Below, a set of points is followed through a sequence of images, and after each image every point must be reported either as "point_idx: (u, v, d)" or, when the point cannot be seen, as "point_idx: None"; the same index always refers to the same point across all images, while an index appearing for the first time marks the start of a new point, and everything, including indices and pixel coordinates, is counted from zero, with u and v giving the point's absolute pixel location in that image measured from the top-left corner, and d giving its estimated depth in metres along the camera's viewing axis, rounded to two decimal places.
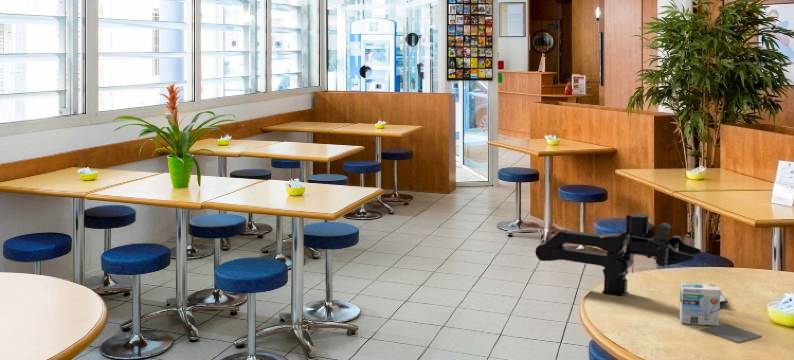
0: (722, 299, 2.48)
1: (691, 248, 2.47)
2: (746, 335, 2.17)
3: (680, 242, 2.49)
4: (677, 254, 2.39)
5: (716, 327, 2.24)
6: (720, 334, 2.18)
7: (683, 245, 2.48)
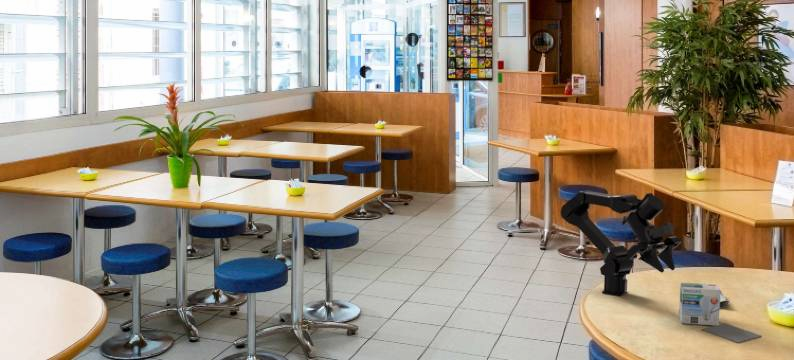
0: (723, 299, 2.48)
1: (669, 261, 2.40)
2: (746, 335, 2.17)
3: (667, 248, 2.41)
4: (653, 258, 2.38)
5: (716, 327, 2.24)
6: (720, 334, 2.18)
7: (667, 252, 2.41)
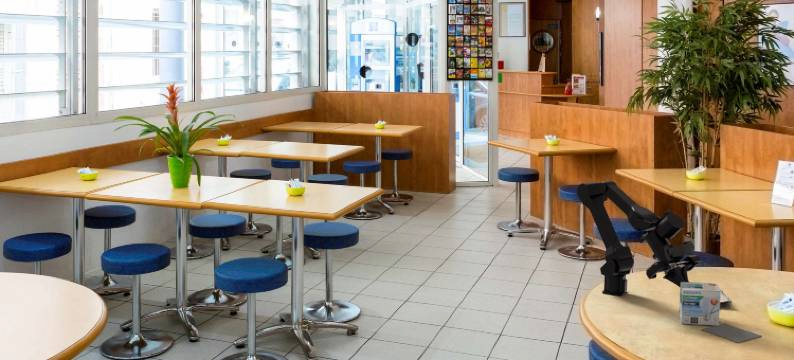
0: (725, 299, 2.48)
1: (685, 281, 2.33)
2: (746, 335, 2.17)
3: (682, 269, 2.34)
4: (678, 277, 2.33)
5: (716, 327, 2.24)
6: (720, 334, 2.18)
7: (682, 273, 2.34)
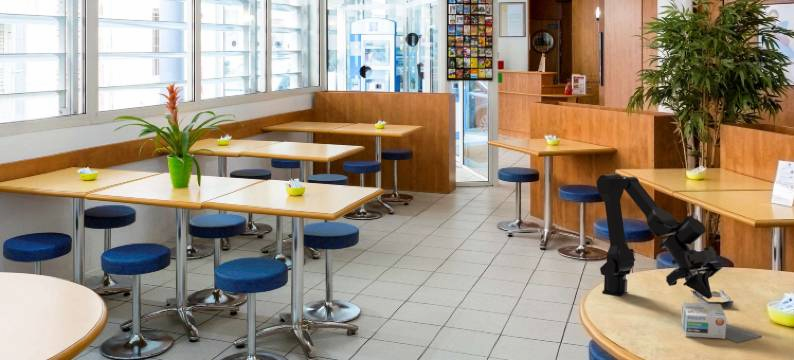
0: (726, 299, 2.48)
1: None
2: (746, 335, 2.17)
3: (703, 275, 2.27)
4: (699, 284, 2.26)
5: None
6: None
7: (703, 280, 2.27)
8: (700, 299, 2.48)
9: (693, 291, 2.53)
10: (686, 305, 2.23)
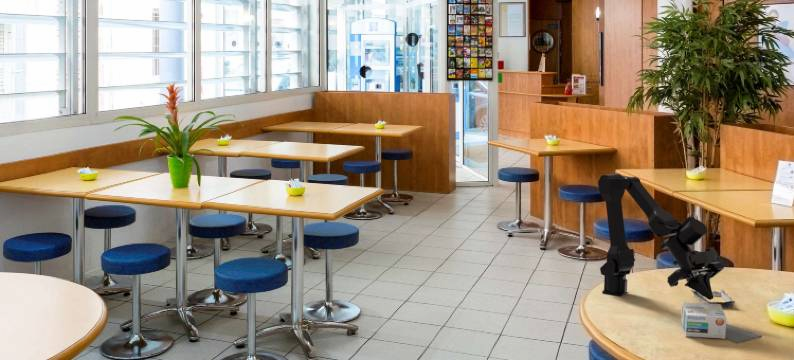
0: (727, 299, 2.48)
1: None
2: (746, 335, 2.17)
3: (705, 276, 2.27)
4: (700, 285, 2.26)
5: None
6: None
7: (704, 280, 2.27)
8: (701, 299, 2.48)
9: (694, 291, 2.53)
10: (686, 305, 2.23)
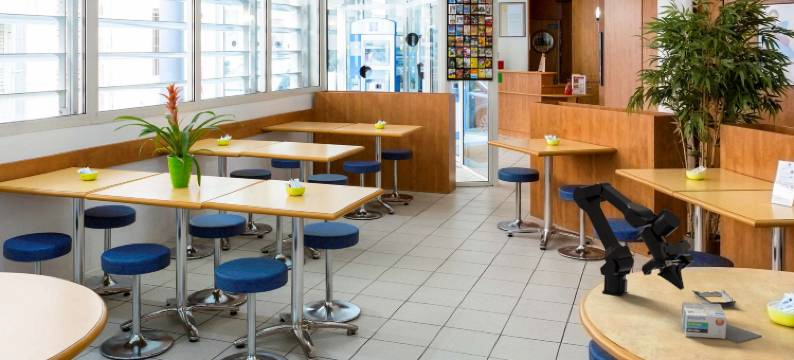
0: (728, 299, 2.48)
1: None
2: (746, 335, 2.17)
3: (677, 267, 2.36)
4: (672, 275, 2.34)
5: None
6: None
7: (676, 271, 2.36)
8: (702, 299, 2.48)
9: (695, 291, 2.53)
10: (686, 305, 2.23)
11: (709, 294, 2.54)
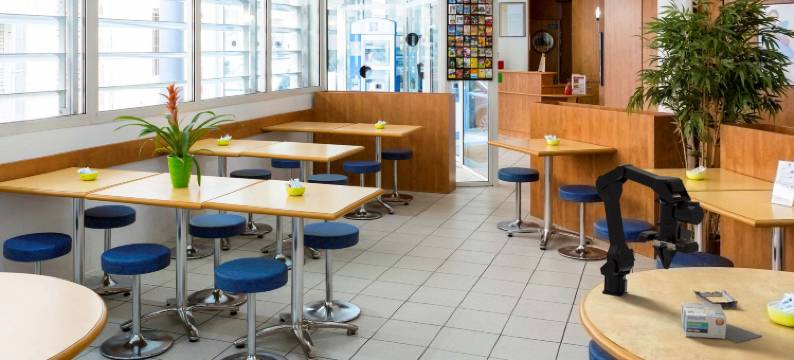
0: (729, 299, 2.48)
1: None
2: (746, 335, 2.17)
3: None
4: (672, 255, 2.37)
5: None
6: None
7: None
8: (704, 300, 2.48)
9: (696, 292, 2.52)
10: (686, 305, 2.23)
11: (710, 294, 2.54)
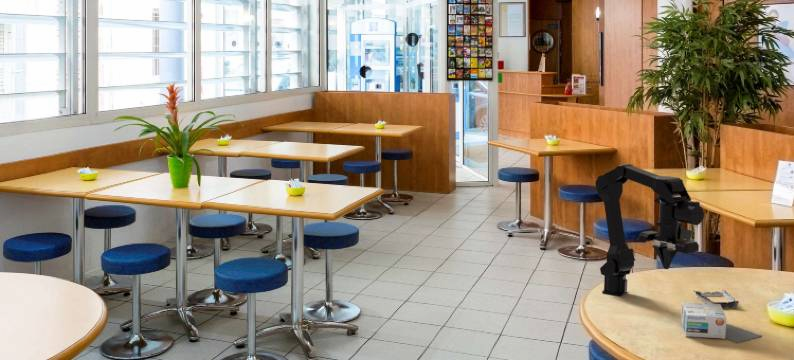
0: (729, 299, 2.48)
1: None
2: (746, 335, 2.17)
3: None
4: (672, 255, 2.37)
5: None
6: None
7: None
8: (704, 300, 2.48)
9: (696, 292, 2.52)
10: (686, 305, 2.23)
11: (710, 294, 2.54)
